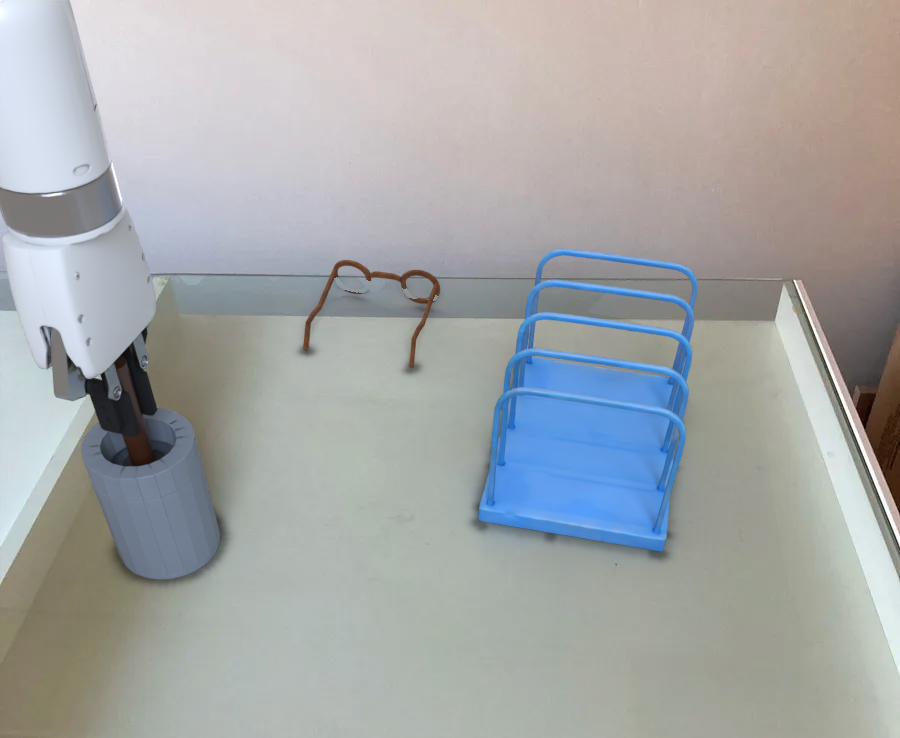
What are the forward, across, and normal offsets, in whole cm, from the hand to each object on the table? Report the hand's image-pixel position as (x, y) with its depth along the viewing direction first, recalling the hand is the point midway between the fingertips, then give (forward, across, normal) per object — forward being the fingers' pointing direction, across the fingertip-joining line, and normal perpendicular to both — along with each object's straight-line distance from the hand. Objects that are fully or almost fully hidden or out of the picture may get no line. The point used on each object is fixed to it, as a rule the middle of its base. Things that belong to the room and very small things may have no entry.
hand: (129, 419), depth 73 cm
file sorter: (+14, -24, +34) cm, 44 cm away
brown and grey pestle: (+8, 0, 0) cm, 8 cm away
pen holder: (+14, 0, 0) cm, 14 cm away
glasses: (+14, -38, +6) cm, 41 cm away
